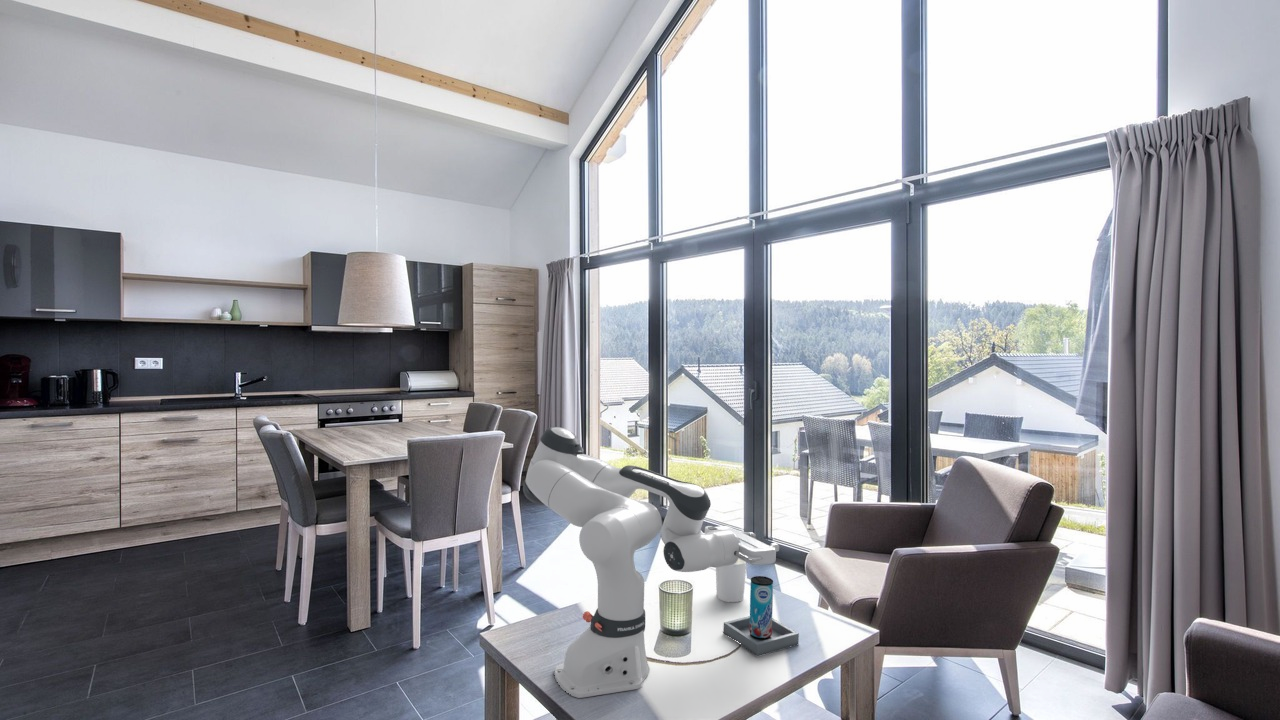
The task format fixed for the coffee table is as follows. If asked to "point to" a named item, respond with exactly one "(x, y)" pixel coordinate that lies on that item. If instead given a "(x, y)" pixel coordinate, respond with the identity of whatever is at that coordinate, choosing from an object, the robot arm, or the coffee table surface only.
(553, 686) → the coffee table surface
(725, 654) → the coffee table surface
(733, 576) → the candle holder
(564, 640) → the coffee table surface
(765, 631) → the beverage can
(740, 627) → the box
